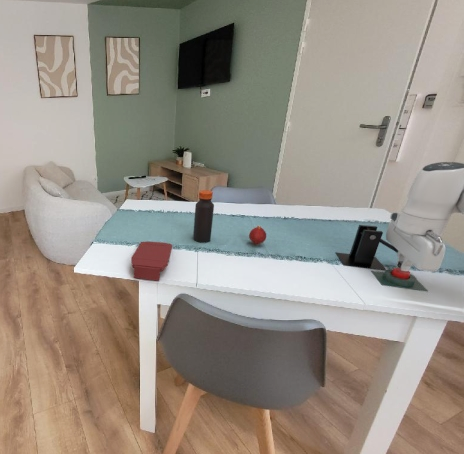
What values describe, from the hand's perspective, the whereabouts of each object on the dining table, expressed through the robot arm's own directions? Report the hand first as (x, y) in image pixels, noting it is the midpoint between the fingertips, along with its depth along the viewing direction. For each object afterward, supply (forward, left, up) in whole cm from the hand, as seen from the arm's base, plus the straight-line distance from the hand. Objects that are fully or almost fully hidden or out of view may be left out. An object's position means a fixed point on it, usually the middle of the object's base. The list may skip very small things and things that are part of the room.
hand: (402, 268), depth 83 cm
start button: (0, 0, -3) cm, 3 cm away
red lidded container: (+71, +8, -5) cm, 71 cm away
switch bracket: (+6, -10, -5) cm, 13 cm away
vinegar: (+56, -15, -5) cm, 58 cm away
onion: (+36, -16, -5) cm, 40 cm away
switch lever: (+2, -10, +3) cm, 11 cm away
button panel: (0, 0, -5) cm, 5 cm away
